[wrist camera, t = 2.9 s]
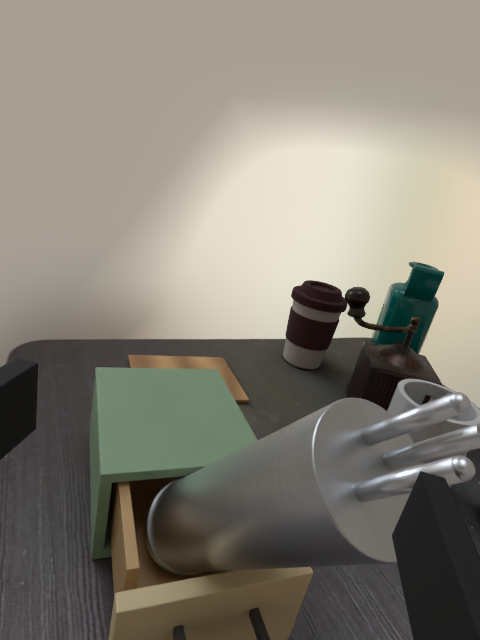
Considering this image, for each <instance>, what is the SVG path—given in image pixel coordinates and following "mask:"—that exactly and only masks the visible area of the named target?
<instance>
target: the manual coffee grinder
mask: <svg viewBox="0 0 480 640" xmlns="http://www.w3.org/2000/svg"><path fill="white" fill-rule="evenodd" d="M345 299H346V301H347V302H348V304H349V306H350V309H349V312H348V315H349V316H351V317H354V320H355V321H356V322H357V323H358V324H359V325H360V326H362V327H365V328H368V329H372V330H377V331H386V332H396V333H400V332H408V333H407V335H406V338H405V341H404V343H403V345H402V341H401V340H397V341H396V344H376V343H372V342H368V341H364V343H363V346H362V349H361V352H360V355H359V358H358V361H357V364H356V367H355V370H354V373H353V376H352V378H351V381H350V383H349V385H348V389H347V398H361V399H364V400H368V401H370V402H373V403H375V404H377V405H378V406H380V407H382V408H383V409H384V410H386V411H388V408H389V406H390V403H391V401H392V398H393V395H394V393H395V390H396V388H397V385H398V383H399V382H400V381H402V380H405V379H419V380H424V381H429V382H433V383H436V384H438V385H441V386H442V384H441V382H440V380H439V378H438V376H437V375H436V373H435V371H434V370H433V368H432V367H431V365H430V363H429V362H428V360H427V358H426V357H425V356H422V355H419V354H416V353H415V352H414V351H413V350H412V349H411V348H409V345H410V342H411V340H412V337H413V335H414V332H417V331H418V327H417V325H418V324H419V323H420V319H419V318H418V317H413V318H412V319H411V324H409V325H408V327H392V326H383V325H375V324H369V323H366V322H364V321H363V320H362V319H361V318H362V317H364V316H365V311H364V307H365V305H366V304H367V303H368V301H369V299H370V295H369V292H368V291H367V290H366V289H365V288H362V287H353V288H351V289H349V290H348V291H347V293H346V294H345ZM430 398H431V396H429V395H425V397H424V400H423V402H422V404H421V405H423V404H425V403H428V402H429V400H430Z"/></svg>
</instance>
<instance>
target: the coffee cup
mask: <svg viewBox="0 0 480 640" xmlns="http://www.w3.org/2000/svg"><path fill="white" fill-rule="evenodd" d="M291 297H292V298H293V299H294V301H293V306H292V307H291V310H290V315H289V320H288V325H287V331H286V342H285V347H284V352H283V357H284V359H285V360H286V361H287V362H288V363H290V364H292V365H294V366H296V367H299V368H303V369H316V368H318V367H319V366H320V365H321V362H322V360H323V357H324V354H325V352H326V349H328V347H329V345H330V343H331V340H332V337H333V335H334V332H335V330H336V327H337V325H338V322H339V316H340V314H341V312H344V311H345V310H346V307H347V303H348V302H347V301H346V299H345V298H343V297H342V292H341V290H340V289H338V288H337V287H334V286H332V285H329V284H327V283H323V282H318V281H305V282H304V283H303V284H302V285H301V286H296V287H294V288H293V291H292V295H291Z"/></svg>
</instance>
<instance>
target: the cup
mask: <svg viewBox="0 0 480 640" xmlns="http://www.w3.org/2000/svg"><path fill="white" fill-rule="evenodd" d="M454 392H455V391H453V390H451V389H448V388H446V387H444V386H441V385H438V384H436V383H433V382H429V381H424V380H419V379H405V380H402V381H400V382H399V383H398V385H397V388H396V390H395V393H394V395H393V398H392V401H391V403H390V406H389V408H388V411H387V412H388V413H390V414H391V415H392V416H395V415H398V414H400V413H403V412H405V411H408V410H410V409H413V408H415V407H418V406H420V405H421V404H422V402H423V400H424V397H425V395H429V396H431V398H430V400H429V402H431V401H433V400H436V399H438V398H441V397H443V396H446V395H448V394H451V393H454ZM477 423H480V409H479V408H478V407H477V406H476V405H475V404H473V403H472V402H471V401H470V409H469V410H468V411H467V412H466V413H465V414H462V415H459V416H456V417H454V418H451V419H448V420H445V421H442V422H439V423H436V424H433V425H430V426H427V427H425V428H422V429H419V430H416V431H413V432H410V433H408V435H409V436H410V438H411V439H412V441H413V442H414V443H417V442H420V441H424V440H427V439H430V438H433V437H436V436H439V435H443V434H446V433H449V432H452V431H455V430H458V429H462V428H465V427H468V426H471V425H474V424H477ZM467 453H468V451H466V452H463V453H459V454H455V455H451V456H448V457H452V456H457V455H461V456H465V457H466V455H467ZM448 457H444V458H440V459H436V460H433V461H437V460H441V459H445V458H448ZM433 461H429V462H433ZM429 462H425V463H424V464H426V463H429ZM448 486H449V488H450V487H451V485H448Z"/></svg>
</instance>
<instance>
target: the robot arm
mask: <svg viewBox="0 0 480 640" xmlns="http://www.w3.org/2000/svg"><path fill="white" fill-rule="evenodd" d="M37 381H38V363H36V362H33V361H29V360H26V359H22V358H19V357H18V358H16V359H14V360H12V361H11V362H9V363H7V364H6V365H4V366H2V367H0V459H2V458H3V457H4V456H5V455H6V454H7V453H9V452H10V451H11V450H12V449H13V448H14V447H15V446H17V445H18V444H19V443H20V442H21V441H22V440H24V439H25V438H26V437H27V436H28V435H29V434H30V433H32V432H33V431H34V430H35V429H36V411H37ZM392 540H393V545H394V549H395V554H396V559H397V563H398V568H399V573H400V578H401V582H402V587H403V592H404V596H405V601H406V606H407V611H408V615H409V620H410V625H411V629H412V634H413V639H414V640H480V557H479V554H478V552H477V550H476V547H475V545H474V543H473V540H472V538H471V536H470V534H469V531H468V529H467V527H466V524H465V522H464V520H463V518H462V515H461V513H460V511H459V508H458V506H457V504H456V502H455V499H454V497H453V495H452V492H451V490H450V488H449V486H448V483H447V481H446V479H445V478H444V477H440V476H437V475H433V474H430V473H426V472H422V471H420V473H419V475H418V477H417V480H416V482H415V484H414V486H413V489H412V491H411V493H410V495H409V498H408V500H407V502H406V504H405V507H404V509H403V511H402V513H401V516H400V518H399V520H398V522H397V525H396V527H395V529H394V531H393V533H392Z"/></svg>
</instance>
